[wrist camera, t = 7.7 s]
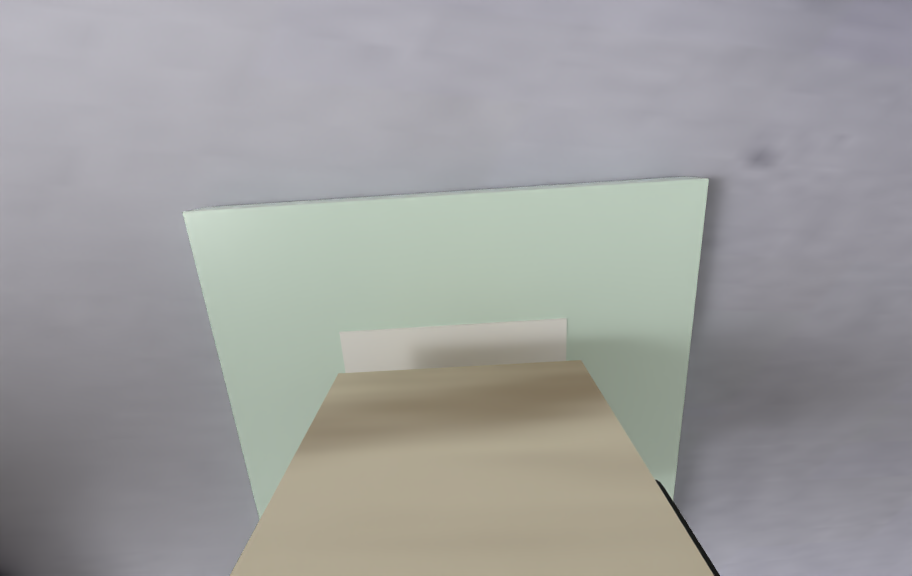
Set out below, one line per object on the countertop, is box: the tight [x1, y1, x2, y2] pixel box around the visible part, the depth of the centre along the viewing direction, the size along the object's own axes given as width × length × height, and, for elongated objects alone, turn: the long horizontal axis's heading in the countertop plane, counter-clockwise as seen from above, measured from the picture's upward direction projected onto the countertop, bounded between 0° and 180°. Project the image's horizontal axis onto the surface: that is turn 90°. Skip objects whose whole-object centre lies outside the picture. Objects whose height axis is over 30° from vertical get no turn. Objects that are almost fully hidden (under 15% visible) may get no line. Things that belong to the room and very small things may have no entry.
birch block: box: [230, 360, 714, 576], centre depth 8 cm, size 6×6×6 cm
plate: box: [182, 176, 709, 520], centre depth 14 cm, size 14×14×1 cm
